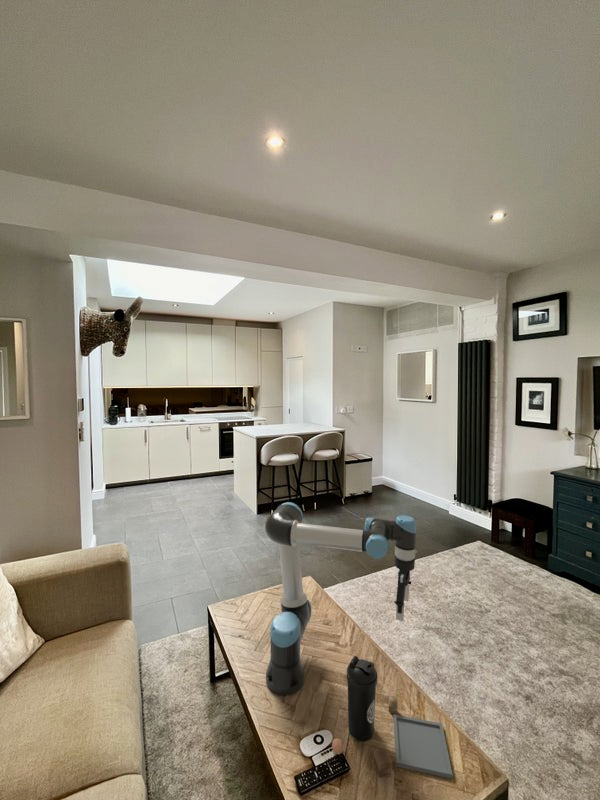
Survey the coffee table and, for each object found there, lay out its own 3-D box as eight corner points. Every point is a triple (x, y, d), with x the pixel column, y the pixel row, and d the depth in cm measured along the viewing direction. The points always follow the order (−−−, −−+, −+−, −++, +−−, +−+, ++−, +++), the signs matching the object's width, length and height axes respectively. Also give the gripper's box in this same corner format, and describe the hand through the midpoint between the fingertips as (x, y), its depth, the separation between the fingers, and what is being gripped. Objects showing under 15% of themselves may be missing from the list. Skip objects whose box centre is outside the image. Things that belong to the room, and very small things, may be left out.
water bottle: (369, 750, 111) (371, 680, 110) (340, 733, 116) (341, 666, 115) (380, 724, 119) (381, 659, 118) (352, 709, 125) (353, 647, 124)
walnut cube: (379, 777, 103) (379, 764, 103) (374, 762, 107) (374, 750, 107) (392, 775, 104) (392, 762, 104) (386, 761, 108) (387, 748, 108)
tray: (396, 766, 106) (396, 762, 106) (393, 717, 122) (393, 713, 122) (452, 778, 103) (452, 774, 103) (441, 727, 118) (441, 723, 118)
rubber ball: (331, 756, 109) (331, 745, 109) (332, 744, 112) (332, 733, 112) (342, 758, 108) (343, 747, 108) (343, 747, 112) (343, 736, 111)
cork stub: (388, 714, 123) (389, 702, 123) (388, 706, 126) (388, 694, 126) (397, 715, 122) (397, 703, 122) (396, 708, 125) (397, 696, 125)
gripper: (410, 574, 123) (407, 632, 124) (418, 545, 146) (416, 595, 147) (389, 569, 126) (386, 626, 127) (400, 541, 149) (397, 590, 150)
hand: (402, 609), depth 137 cm, fingers open, 13 cm apart
